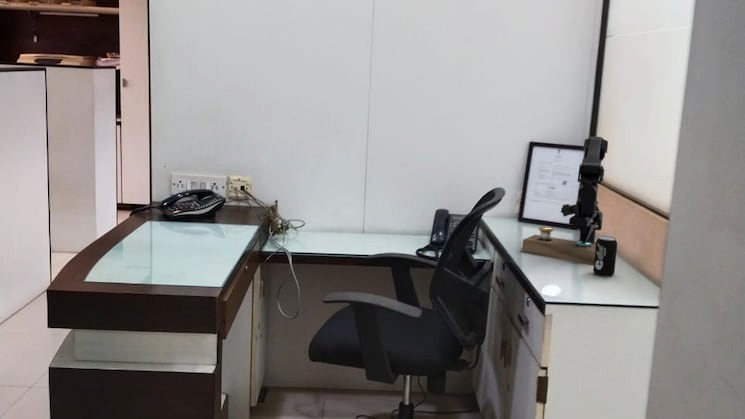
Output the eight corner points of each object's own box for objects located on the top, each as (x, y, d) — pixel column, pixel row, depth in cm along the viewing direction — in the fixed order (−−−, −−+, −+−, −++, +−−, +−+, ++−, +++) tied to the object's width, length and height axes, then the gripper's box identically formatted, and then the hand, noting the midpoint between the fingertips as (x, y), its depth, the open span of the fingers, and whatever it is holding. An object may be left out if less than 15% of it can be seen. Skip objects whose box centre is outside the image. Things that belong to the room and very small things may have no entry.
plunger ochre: (540, 239, 269) (541, 225, 268) (553, 241, 266) (555, 227, 265) (535, 241, 265) (536, 227, 264) (549, 243, 262) (550, 229, 261)
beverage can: (615, 277, 235) (619, 240, 233) (593, 275, 237) (597, 239, 235) (613, 272, 242) (616, 236, 240) (592, 270, 243) (595, 234, 241)
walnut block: (534, 246, 274) (535, 234, 274) (604, 258, 261) (605, 245, 260) (521, 252, 264) (522, 239, 264) (594, 264, 251) (595, 251, 250)
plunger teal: (577, 254, 262) (579, 240, 261) (591, 256, 259) (593, 242, 259) (573, 256, 258) (574, 242, 257) (587, 259, 255) (588, 244, 254)
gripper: (573, 192, 267) (570, 234, 270) (556, 198, 252) (552, 243, 254) (604, 196, 261) (600, 239, 264) (588, 202, 246) (584, 248, 248)
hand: (583, 242), depth 258 cm, fingers closed, pressing on plunger teal
